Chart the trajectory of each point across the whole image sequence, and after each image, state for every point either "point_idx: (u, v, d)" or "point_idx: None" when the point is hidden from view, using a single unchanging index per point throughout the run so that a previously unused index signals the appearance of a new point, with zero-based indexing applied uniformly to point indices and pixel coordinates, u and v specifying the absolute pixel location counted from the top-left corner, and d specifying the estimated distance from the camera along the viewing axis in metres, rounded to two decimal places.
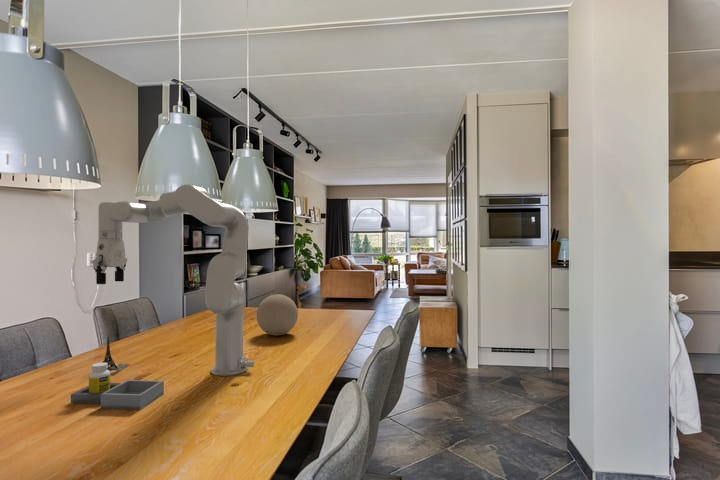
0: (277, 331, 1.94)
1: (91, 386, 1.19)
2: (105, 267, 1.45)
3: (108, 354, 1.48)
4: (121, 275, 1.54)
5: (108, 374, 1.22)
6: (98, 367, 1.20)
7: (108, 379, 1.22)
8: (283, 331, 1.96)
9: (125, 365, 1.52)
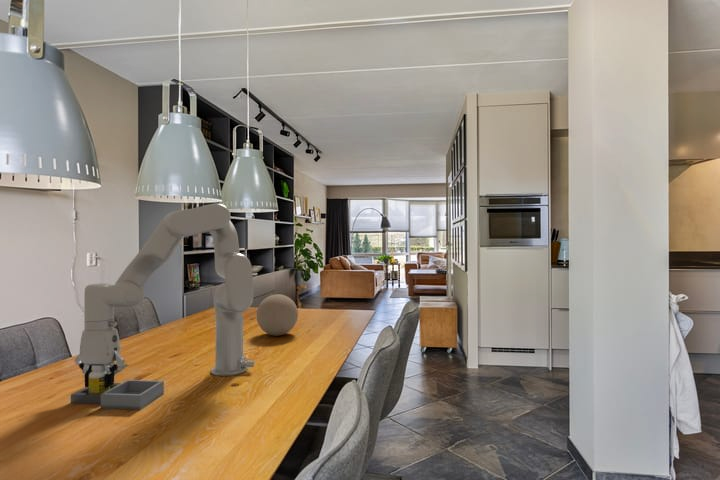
0: (277, 331, 1.94)
1: (91, 386, 1.19)
2: None
3: None
4: None
5: None
6: (98, 367, 1.20)
7: None
8: (283, 331, 1.96)
9: (124, 365, 1.52)
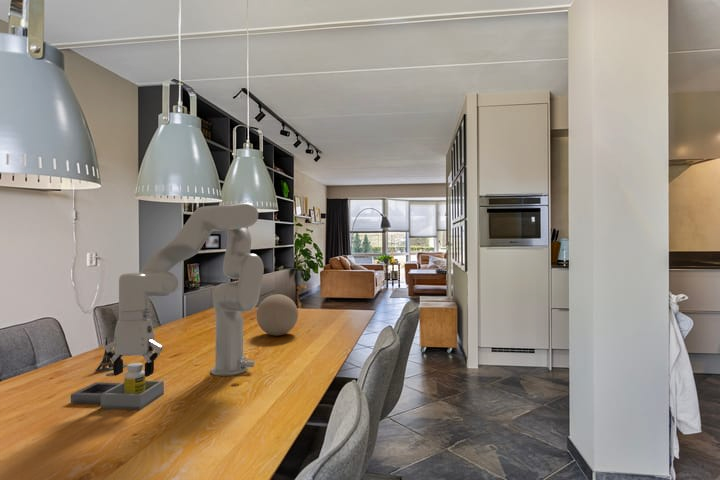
0: (277, 331, 1.94)
1: (127, 386, 1.17)
2: None
3: (106, 354, 1.47)
4: (122, 365, 1.21)
5: (144, 374, 1.19)
6: (134, 367, 1.17)
7: (144, 380, 1.19)
8: (283, 331, 1.96)
9: (123, 366, 1.52)
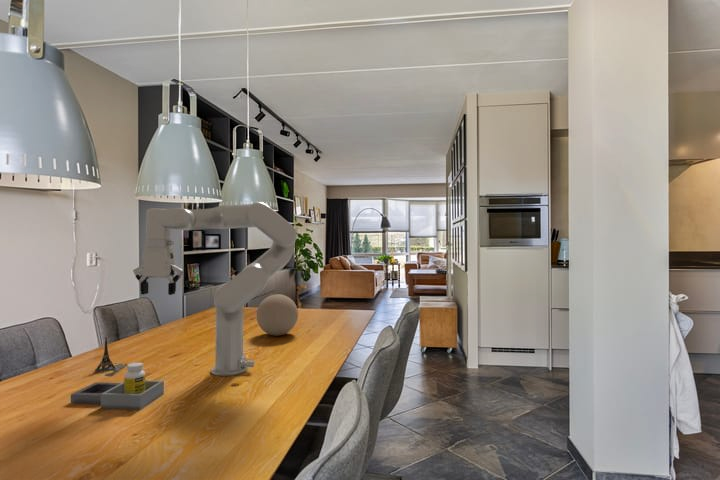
0: (277, 331, 1.94)
1: (127, 386, 1.17)
2: None
3: (106, 354, 1.47)
4: (147, 287, 1.42)
5: (143, 374, 1.19)
6: (134, 367, 1.17)
7: (143, 379, 1.19)
8: (283, 331, 1.96)
9: (123, 366, 1.52)
